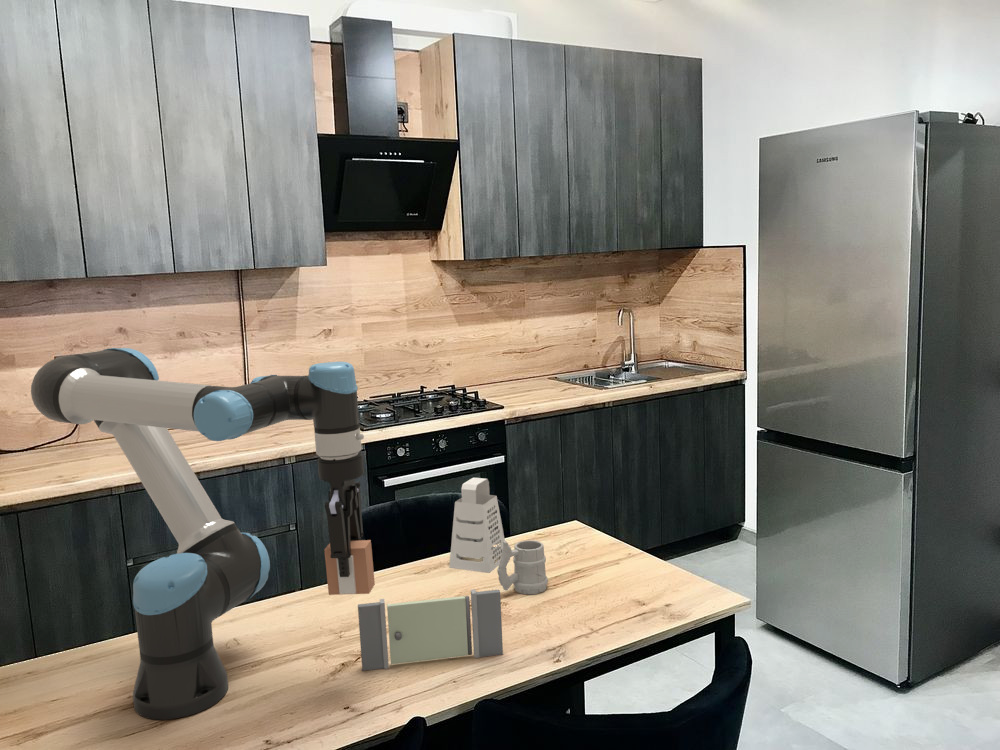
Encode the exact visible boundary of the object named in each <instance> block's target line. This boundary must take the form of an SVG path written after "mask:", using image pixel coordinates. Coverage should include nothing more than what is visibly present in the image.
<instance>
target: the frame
mask: <svg viewBox="0 0 1000 750" xmlns="http://www.w3.org/2000/svg"><path fill="white" fill-rule="evenodd" d="M501 599H502V597H501V591H500V589H492V590H483V591H482V590H481V591H476V589H470V601H471V602H470V603H471V605H470V607H471V621H472V622H471V623H472V624H471V628H472V643H473V644H472V648H473V656H474V659H480V658H482V657H492V656H499V655H504V649H503V648H504V647H503V624H502V623H503V622H502V604H501V603H502V600H501ZM385 602H386V601H385V598H379V601H378V602H377V601H376V602H368V603H358V604H357V612H358V614H357V615H358V628H359V629H358V630H359V643H360V659H361V670H362V671H363V672H366V671H373V670H379V669H380V670H381V669H384V670H388V669H390V666H389V665H390V664H389V653H388V652H389V651H388V649H389V648H388V636H387V635H388V634H387V621H386V617H387V616H386V606H385V605H386V604H385Z"/></svg>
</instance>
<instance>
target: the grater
mask: <svg viewBox="0 0 1000 750" xmlns="http://www.w3.org/2000/svg"><path fill="white" fill-rule="evenodd" d="M460 490H461V497H460V498H459V499H457V500H456V501H455V502H454V511H453V518H452V519H453V521H452V530H451V531H452V532H451V543H450V544H451V546H450V557H449V566H448V567H449V568H450V569H454V570H455V569H456V570H463V571H464V570H465V571H471V572H472V571H473V572H478V573H488V574H490V573H492V572H493V571H494V570H495V569H497V568H498V567H499V563H500V559H501V555H502V551H503V541H505V535H504V528H503V524H502V523H503V522H502V518H501V513H500V507H499V502H498V497H497V495H493V494H490V481H489V479H488V478H481V477H472V478H470V479H469V480H467V481H465V482H464V483H462V485H461V489H460ZM462 558H467V560H466V559H462ZM468 559H477V560H480V559H482V560H481V561H475V560H468Z"/></svg>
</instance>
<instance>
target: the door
mask: <svg viewBox="0 0 1000 750" xmlns="http://www.w3.org/2000/svg"><path fill="white" fill-rule="evenodd" d="M470 601H471V598H470V595H466V596H464V595H461V596H453V597H443V598H433V599H424V600H415V601H414V600H413V601H406V602H404V601H403V602H395V603H387V604H386V610H387V611H386V613H387V623H388V624H387V625H388V627H387V629H388V641H389V654H390V657H389V658H390V665H398V664H399V665H400V664H406V663H407V664H408V663H415V662H417V663H418V662H424V661H433V660H440V659H441V660H442V659H451V658H459V657H466V656H467V657H468V656H472V654H473V644H472V643H473V639H472V624H471V623H472V622H471V621H472V619H471V605H470V603H471V602H470Z"/></svg>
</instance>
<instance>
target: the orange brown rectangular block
mask: <svg viewBox="0 0 1000 750" xmlns="http://www.w3.org/2000/svg"><path fill="white" fill-rule="evenodd" d="M371 541H372V540H371V539H367V540H366V539H365V540H360V541H350V543H351V555H353V560H354V572H355V583H356V593H355V594H354V595H369V594H370V593H371V592H372V590H373V588H374V587H375V583H376V582H375V571H374V561H373V549H372V542H371ZM323 550H324V558H325V559H324V560H325V569H326V570H325V571H326V582H327V589H328V595H329V596H332V595H333V596H335V595H336V596H337V595H338V596H339V595H341V596H342V594H340V593H339V582H338V572H337V561H336V558H331V557H330V555H331V548H330V542H329V543H328V544H327V545H326V547H325V548H324V549H323Z"/></svg>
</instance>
